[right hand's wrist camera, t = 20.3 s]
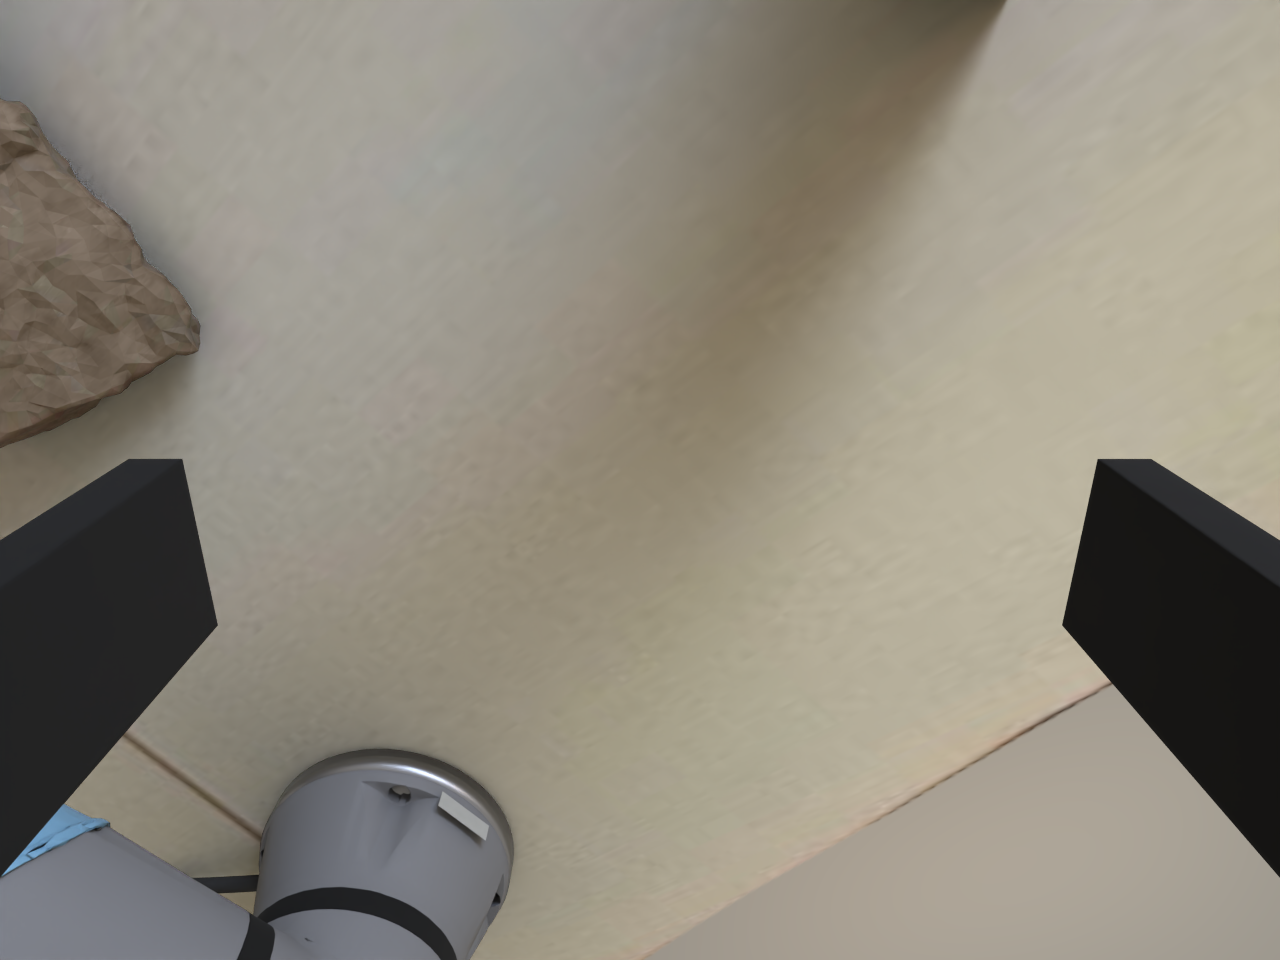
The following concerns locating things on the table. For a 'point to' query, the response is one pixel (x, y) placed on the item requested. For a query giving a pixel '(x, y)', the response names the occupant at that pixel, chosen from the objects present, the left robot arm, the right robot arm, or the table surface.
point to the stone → (71, 291)
